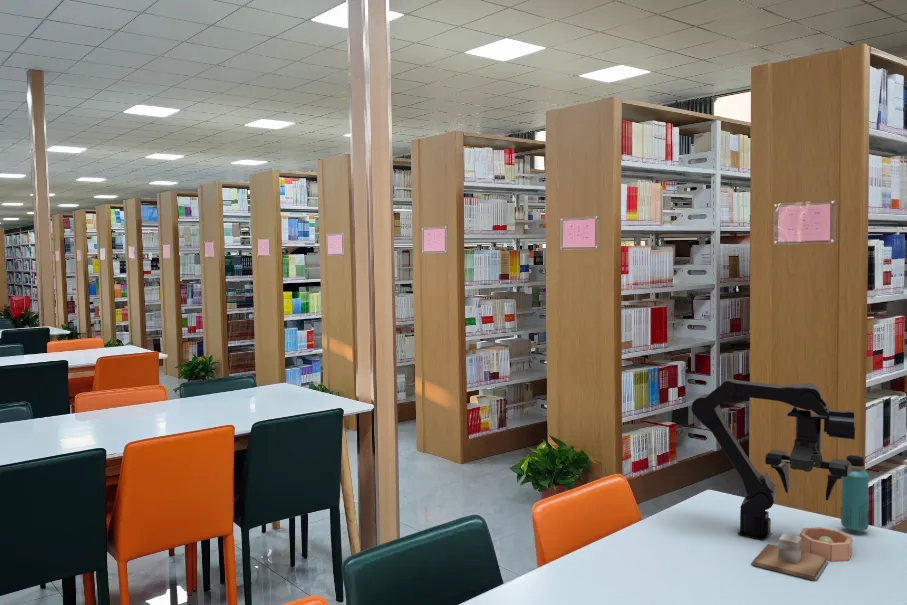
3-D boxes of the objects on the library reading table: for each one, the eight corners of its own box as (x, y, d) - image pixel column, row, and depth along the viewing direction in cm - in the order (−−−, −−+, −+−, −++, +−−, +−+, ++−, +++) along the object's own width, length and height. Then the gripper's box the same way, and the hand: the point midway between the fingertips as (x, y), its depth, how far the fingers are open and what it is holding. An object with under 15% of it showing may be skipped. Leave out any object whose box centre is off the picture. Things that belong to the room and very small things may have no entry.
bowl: (796, 553, 172) (796, 537, 172) (806, 539, 180) (806, 524, 180) (846, 564, 165) (846, 548, 165) (854, 550, 173) (855, 534, 173)
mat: (750, 564, 165) (750, 563, 165) (765, 548, 175) (765, 547, 175) (816, 581, 157) (816, 579, 157) (828, 563, 166) (828, 561, 166)
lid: (752, 564, 165) (752, 540, 164) (768, 547, 175) (768, 524, 175) (813, 579, 157) (814, 554, 156) (826, 560, 167) (826, 536, 166)
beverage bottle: (872, 537, 182) (874, 460, 181) (844, 535, 183) (846, 459, 182) (863, 527, 188) (864, 453, 187) (836, 526, 189) (837, 452, 188)
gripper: (759, 435, 176) (758, 497, 177) (843, 447, 165) (842, 513, 165) (771, 427, 185) (770, 486, 186) (852, 438, 173) (851, 500, 174)
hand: (806, 496), depth 177 cm, fingers open, 9 cm apart
